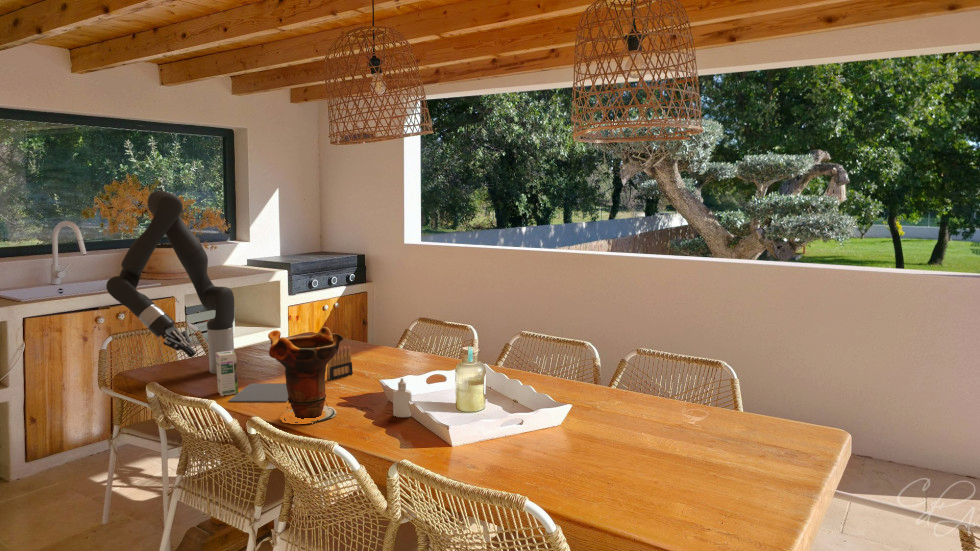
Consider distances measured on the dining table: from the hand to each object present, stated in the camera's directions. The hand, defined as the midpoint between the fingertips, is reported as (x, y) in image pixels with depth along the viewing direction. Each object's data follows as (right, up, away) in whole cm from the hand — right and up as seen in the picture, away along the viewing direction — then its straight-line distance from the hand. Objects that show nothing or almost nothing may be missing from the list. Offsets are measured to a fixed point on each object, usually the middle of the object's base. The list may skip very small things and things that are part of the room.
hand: (193, 355), depth 234 cm
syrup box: (+11, -14, +2) cm, 18 cm away
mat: (+25, -13, +1) cm, 29 cm away
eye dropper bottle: (+75, -16, -23) cm, 80 cm away
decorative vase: (+45, -16, -22) cm, 53 cm away
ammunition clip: (+46, -11, +21) cm, 52 cm away
